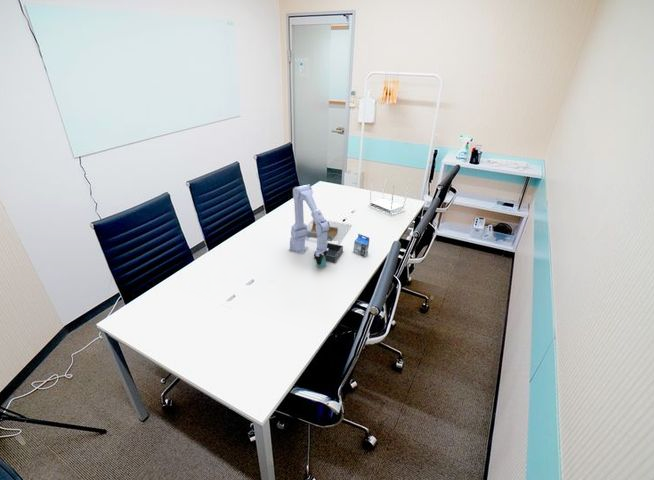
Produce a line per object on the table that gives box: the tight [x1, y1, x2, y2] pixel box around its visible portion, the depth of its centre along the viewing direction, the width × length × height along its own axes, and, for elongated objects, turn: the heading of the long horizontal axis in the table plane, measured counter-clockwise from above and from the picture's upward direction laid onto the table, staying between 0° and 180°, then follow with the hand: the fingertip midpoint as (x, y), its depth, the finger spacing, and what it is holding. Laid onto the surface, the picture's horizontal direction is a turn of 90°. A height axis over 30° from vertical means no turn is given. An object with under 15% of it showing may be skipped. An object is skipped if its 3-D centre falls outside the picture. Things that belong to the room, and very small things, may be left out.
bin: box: [313, 242, 344, 264], centre depth 211 cm, size 14×16×4 cm
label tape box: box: [352, 233, 370, 258], centre depth 211 cm, size 9×4×12 cm, turn 47°
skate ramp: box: [305, 219, 351, 242], centre depth 239 cm, size 29×35×8 cm
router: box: [368, 174, 411, 217], centre depth 271 cm, size 19×25×24 cm
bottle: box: [316, 253, 327, 269], centre depth 199 cm, size 5×5×9 cm
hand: (321, 261), depth 199 cm, fingers open, 7 cm apart
